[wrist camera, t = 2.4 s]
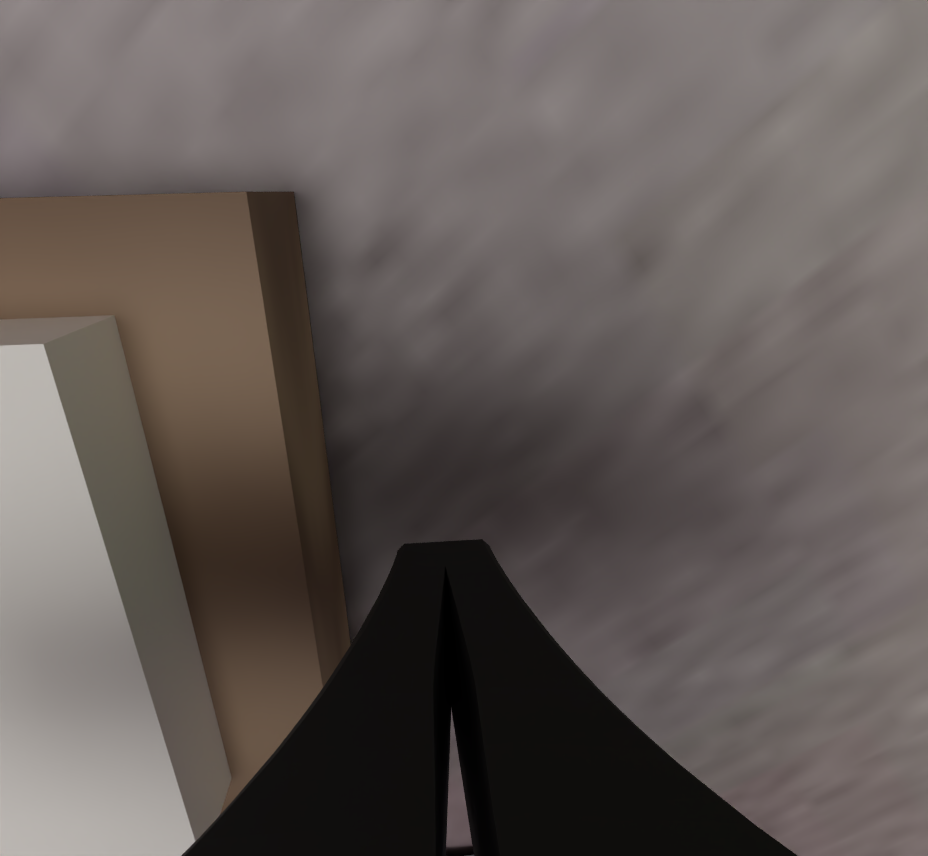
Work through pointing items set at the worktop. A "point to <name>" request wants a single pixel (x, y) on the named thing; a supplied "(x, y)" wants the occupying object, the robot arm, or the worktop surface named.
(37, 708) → the cream tilted tile
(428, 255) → the worktop surface
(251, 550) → the brown flat slab
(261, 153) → the worktop surface
